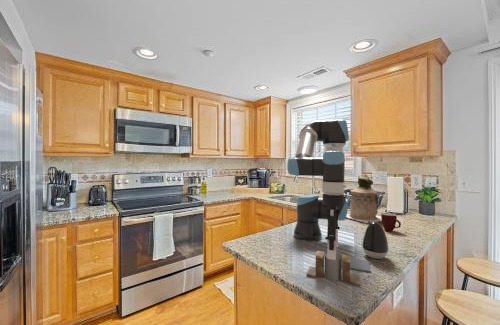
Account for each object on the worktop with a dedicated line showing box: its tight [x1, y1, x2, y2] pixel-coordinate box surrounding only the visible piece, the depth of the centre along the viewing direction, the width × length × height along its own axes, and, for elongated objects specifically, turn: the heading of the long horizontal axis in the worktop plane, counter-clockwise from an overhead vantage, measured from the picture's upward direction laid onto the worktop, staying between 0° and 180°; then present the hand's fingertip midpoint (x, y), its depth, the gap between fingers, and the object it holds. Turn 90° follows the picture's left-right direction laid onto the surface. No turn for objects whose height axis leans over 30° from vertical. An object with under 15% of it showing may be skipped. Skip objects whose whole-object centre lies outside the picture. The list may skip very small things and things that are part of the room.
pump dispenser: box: [361, 221, 389, 260], centre depth 104 cm, size 10×10×15 cm
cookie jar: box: [346, 175, 382, 225], centre depth 175 cm, size 25×25×32 cm
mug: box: [380, 212, 402, 232], centre depth 143 cm, size 11×8×10 cm
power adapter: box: [324, 249, 342, 281], centre depth 85 cm, size 3×5×12 cm, turn 40°
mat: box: [339, 255, 372, 273], centre depth 95 cm, size 12×10×1 cm
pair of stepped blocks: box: [306, 250, 361, 287], centre depth 85 cm, size 18×7×8 cm, turn 67°
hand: (332, 252), depth 85 cm, fingers open, 13 cm apart
